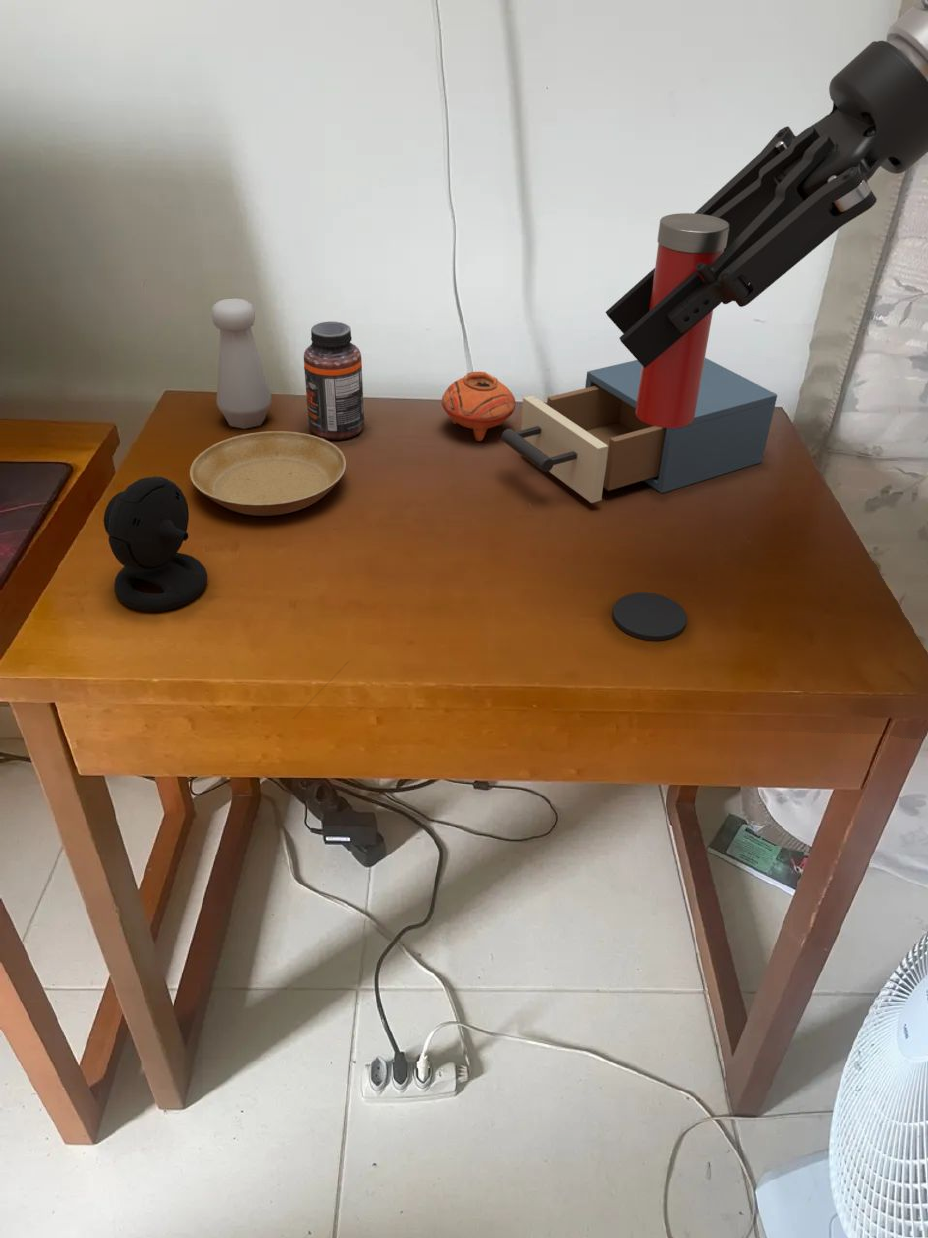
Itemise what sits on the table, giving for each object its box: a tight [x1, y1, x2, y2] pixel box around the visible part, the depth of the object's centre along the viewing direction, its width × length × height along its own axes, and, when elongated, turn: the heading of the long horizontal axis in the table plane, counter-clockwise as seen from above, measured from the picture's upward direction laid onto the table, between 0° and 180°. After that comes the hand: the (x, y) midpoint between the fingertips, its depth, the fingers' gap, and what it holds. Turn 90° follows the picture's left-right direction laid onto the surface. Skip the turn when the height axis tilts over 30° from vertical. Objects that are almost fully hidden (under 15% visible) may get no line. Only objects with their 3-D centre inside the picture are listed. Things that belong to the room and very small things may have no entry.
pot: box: [441, 371, 517, 442], centre depth 105 cm, size 8×8×7 cm
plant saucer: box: [189, 430, 347, 517], centre depth 95 cm, size 15×15×3 cm
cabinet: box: [584, 357, 778, 494], centre depth 102 cm, size 14×14×8 cm
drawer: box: [501, 385, 667, 504], centre depth 97 cm, size 17×12×6 cm
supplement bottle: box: [303, 320, 365, 441], centre depth 103 cm, size 6×6×11 cm
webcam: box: [103, 475, 208, 612], centre depth 79 cm, size 8×8×10 cm
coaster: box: [611, 591, 688, 642], centre depth 80 cm, size 6×6×1 cm
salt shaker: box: [211, 298, 272, 430], centre depth 103 cm, size 6×6×13 cm
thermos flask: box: [635, 212, 730, 428], centre depth 70 cm, size 5×5×14 cm
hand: (625, 338), depth 70 cm, fingers closed on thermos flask, 4 cm apart
